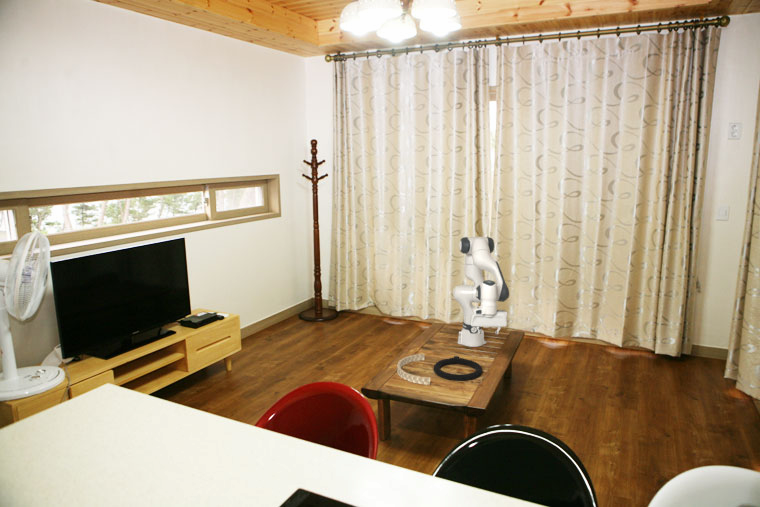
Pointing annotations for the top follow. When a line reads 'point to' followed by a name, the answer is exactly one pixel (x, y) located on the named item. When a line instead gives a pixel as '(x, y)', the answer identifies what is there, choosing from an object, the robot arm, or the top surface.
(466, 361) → the cable lock
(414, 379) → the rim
